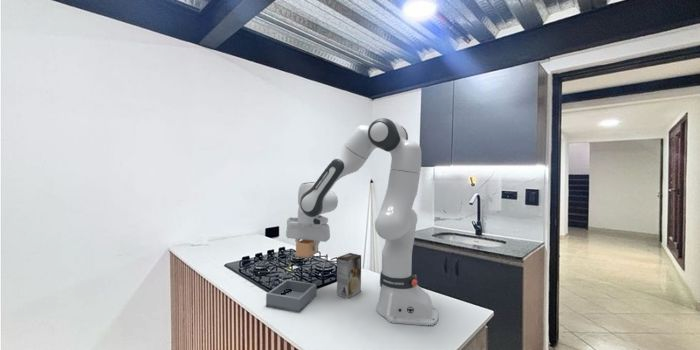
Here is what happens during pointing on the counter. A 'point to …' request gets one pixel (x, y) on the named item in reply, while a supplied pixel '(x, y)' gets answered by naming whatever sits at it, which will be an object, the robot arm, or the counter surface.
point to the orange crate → (305, 248)
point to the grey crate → (291, 296)
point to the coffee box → (348, 275)
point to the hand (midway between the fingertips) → (307, 249)
